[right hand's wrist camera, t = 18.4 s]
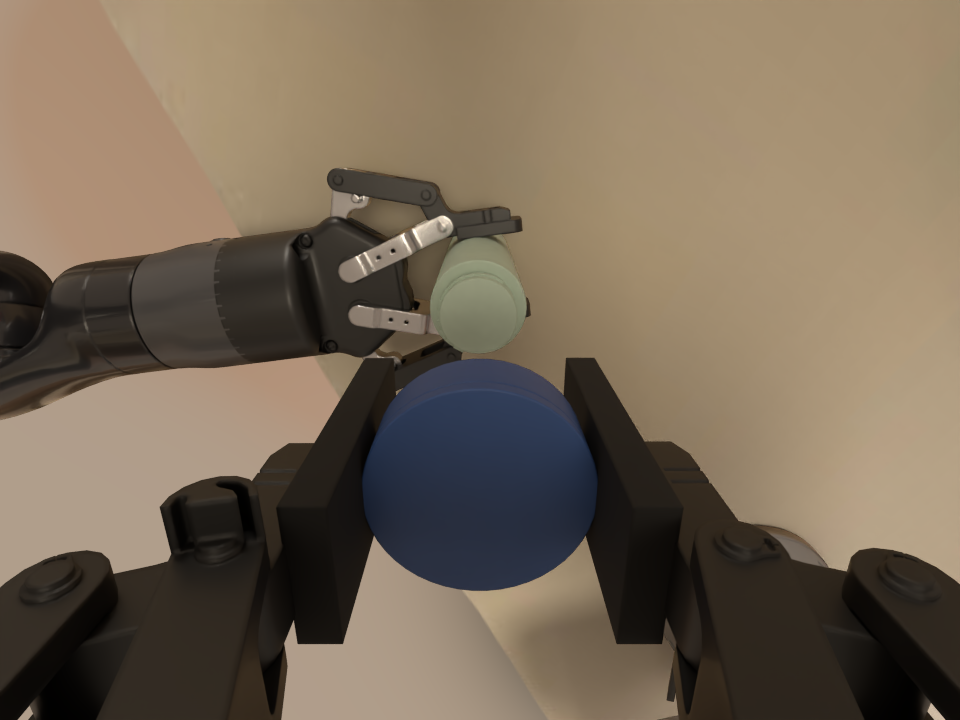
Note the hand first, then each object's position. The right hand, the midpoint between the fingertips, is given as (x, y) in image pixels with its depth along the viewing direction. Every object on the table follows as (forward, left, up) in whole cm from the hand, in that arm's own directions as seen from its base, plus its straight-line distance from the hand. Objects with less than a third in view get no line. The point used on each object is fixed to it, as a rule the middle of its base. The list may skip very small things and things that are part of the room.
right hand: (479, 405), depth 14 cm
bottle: (0, 0, -24) cm, 24 cm away
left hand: (+1, -2, -18) cm, 18 cm away
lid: (0, 0, +4) cm, 4 cm away
